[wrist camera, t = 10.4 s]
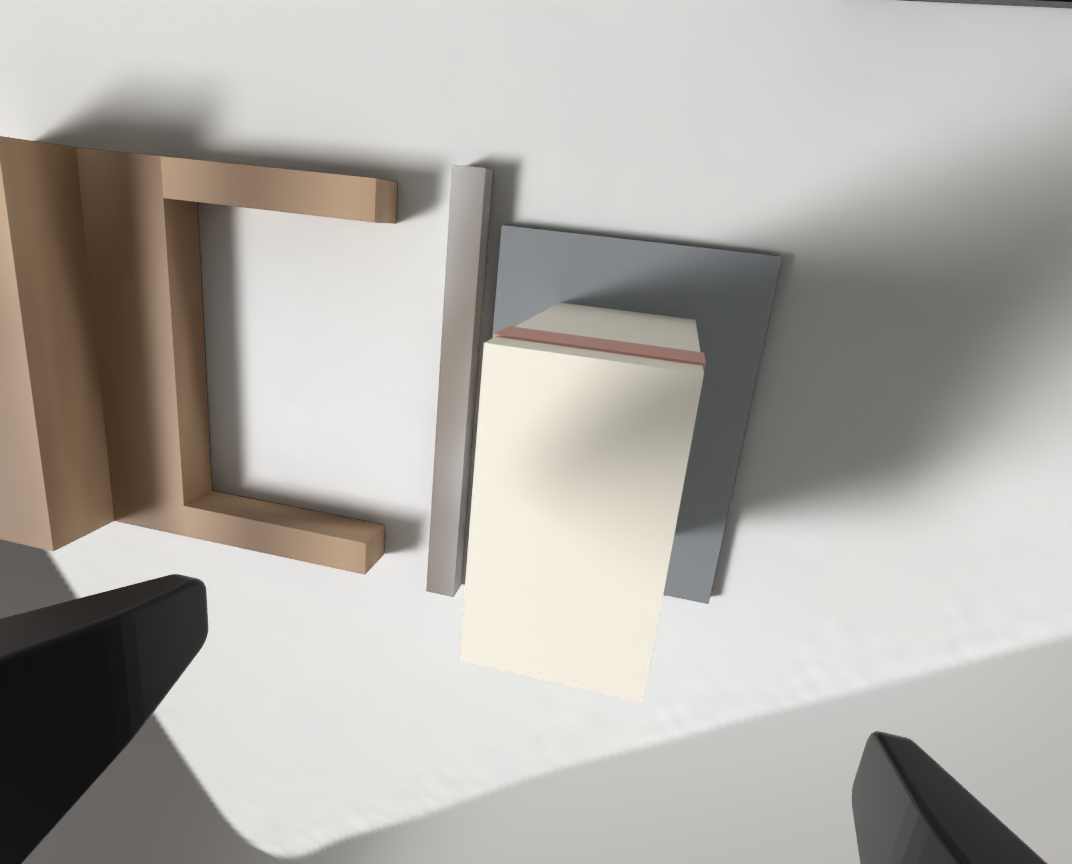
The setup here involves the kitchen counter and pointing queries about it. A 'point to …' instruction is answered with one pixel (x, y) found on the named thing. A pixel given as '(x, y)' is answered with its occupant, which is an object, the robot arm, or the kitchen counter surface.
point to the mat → (677, 291)
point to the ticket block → (578, 494)
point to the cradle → (182, 352)
